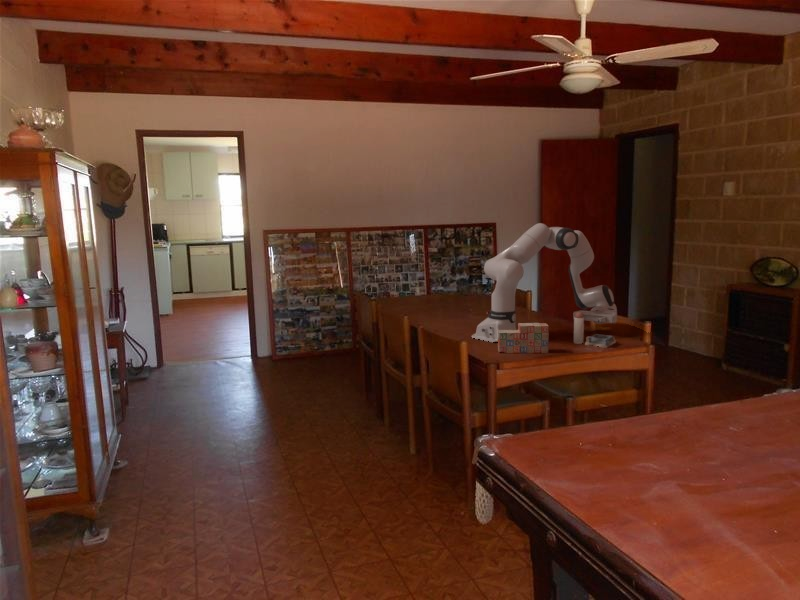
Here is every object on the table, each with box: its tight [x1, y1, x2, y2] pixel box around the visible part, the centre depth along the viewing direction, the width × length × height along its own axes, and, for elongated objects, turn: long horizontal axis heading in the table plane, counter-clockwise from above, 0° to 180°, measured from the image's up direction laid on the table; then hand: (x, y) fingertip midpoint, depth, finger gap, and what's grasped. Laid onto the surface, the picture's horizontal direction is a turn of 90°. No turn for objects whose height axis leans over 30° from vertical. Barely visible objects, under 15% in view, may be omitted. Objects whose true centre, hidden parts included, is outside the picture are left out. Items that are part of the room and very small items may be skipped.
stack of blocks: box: [497, 322, 550, 354], centre depth 261 cm, size 21×6×12 cm, turn 86°
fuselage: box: [573, 312, 585, 345], centre depth 274 cm, size 4×4×14 cm
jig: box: [584, 333, 617, 349], centre depth 272 cm, size 10×12×4 cm
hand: (589, 319), depth 283 cm, fingers open, 8 cm apart
